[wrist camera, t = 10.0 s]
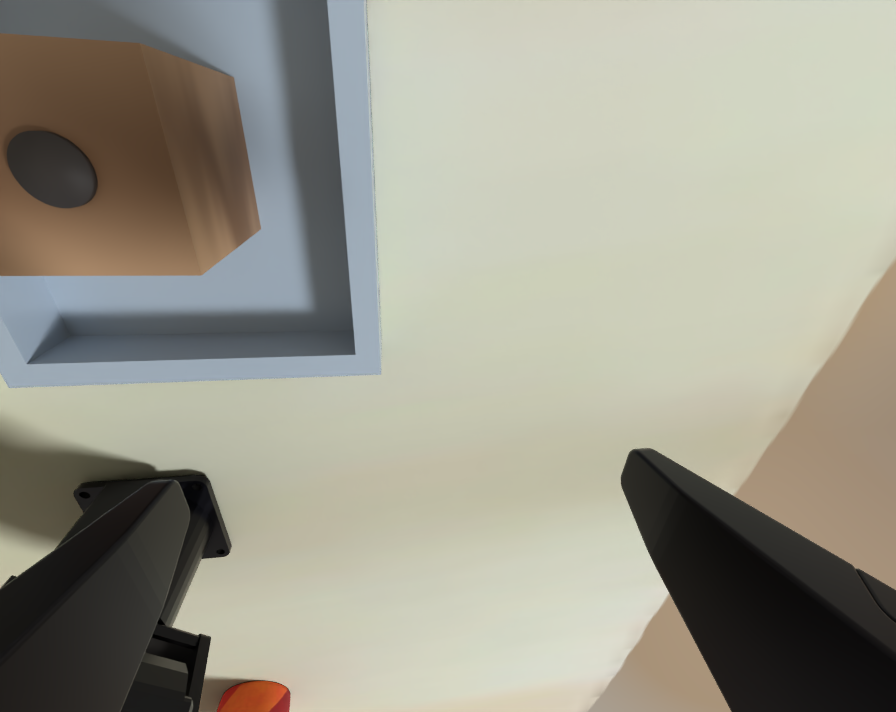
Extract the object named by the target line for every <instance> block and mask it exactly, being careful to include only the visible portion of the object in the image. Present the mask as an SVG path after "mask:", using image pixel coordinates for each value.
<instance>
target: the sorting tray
mask: <svg viewBox="0 0 896 712" xmlns="http://www.w3.org/2000/svg"><path fill="white" fill-rule="evenodd" d="M0 33H5V34H19V35H33V36H47V37H62V38H76V39H90V40H104V41H118V42H132V43H141V44H144V45H147V46H149V47H152V48H155V49H158V50H160V51H163V52H166V53H168V54H171V55H174V56H177V57H179V58H182V59H185V60H188V61H190V62H193V63H196V64H199V65H201V66H204V67H207V68H209V69H212V70H215V71H218V72H220V73H223V74H226V75H229V76H231V77H234V81H235V86H236V92H237V97H238V103H239V108H240V114H241V120H242V125H243V131H244V136H245V142H246V147H247V153H248V158H249V164H250V170H251V175H252V181H253V186H254V192H255V197H256V203H257V208H258V214H259V220H260V225H261V230H259V231H258V232H257V233H256V234H254V235H253V236H252V237H250V238H249V239H248V240H247V241H245V242H244V243H243V244H241V245H240V246H239V247H238V248H236V249H235V250H234V251H232V252H231V253H230V254H229V255H227V256H226V257H225V258H223V259H222V260H221V261H219V262H218V263H217V264H216V265H214V266H213V267H212V268H210V269H209V270H208V271H207V272H205V273H204V274H203V275H201V276H0V373H1V375H2V377H3V379H4V380H5V382H6V384H7V385H8V387H9V388H21V387H49V386H76V385H104V384H132V383H160V382H188V381H216V380H243V379H271V378H299V377H327V376H355V375H381V350H382V340H381V317H380V294H379V272H378V249H377V226H376V203H375V181H374V158H373V135H372V112H371V89H370V67H369V44H368V21H367V0H0Z"/></svg>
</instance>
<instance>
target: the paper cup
mask: <svg viewBox="0 0 896 712" xmlns="http://www.w3.org/2000/svg"><path fill="white" fill-rule="evenodd" d="M289 707H290V691H289V690H288V688H287V687H285V686H283V685H281V684H279V683H275V682H270V681H251V682H245V683H241V684H238V685H235V686H233V687H231V688H229V689H228V690H227V691H226V692H225V693H224V694H223V696H222V699H221V701H220V704H219V706H218V709H217V712H289Z"/></svg>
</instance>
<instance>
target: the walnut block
mask: <svg viewBox="0 0 896 712" xmlns="http://www.w3.org/2000/svg"><path fill="white" fill-rule="evenodd" d="M259 230H261V225H260V220H259V214H258V208H257V203H256V197H255V192H254V186H253V181H252V175H251V170H250V164H249V158H248V153H247V147H246V142H245V136H244V131H243V125H242V120H241V114H240V108H239V103H238V97H237V92H236V86H235V81H234V77H231V76H229V75H226V74H223V73H220V72H218V71H215V70H212V69H209V68H207V67H204V66H201V65H199V64H196V63H193V62H190V61H188V60H185V59H182V58H179V57H177V56H174V55H171V54H168V53H166V52H163V51H160V50H158V49H155V48H152V47H149V46H147V45H144V44H141V43H132V42H118V41H104V40H90V39H76V38H62V37H47V36H33V35H19V34H5V33H0V276H201V275H203V274H204V273H205V272H207V271H208V270H209V269H210V268H212V267H213V266H214V265H216V264H217V263H218V262H219V261H221V260H222V259H223V258H225V257H226V256H227V255H229V254H230V253H231V252H232V251H234V250H235V249H236V248H238V247H239V246H240V245H241V244H243V243H244V242H245V241H247V240H248V239H249V238H250V237H252V236H253V235H254V234H256V233H257V232H258V231H259Z"/></svg>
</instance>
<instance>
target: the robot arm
mask: <svg viewBox="0 0 896 712" xmlns="http://www.w3.org/2000/svg"><path fill="white" fill-rule="evenodd" d="M198 484H199V485H198ZM621 486H622V489H623V492H624V494H625V496H626V499H627V501H628V504H629V506H630V509H631V511H632V514H633V516H634V518H635V521H636V523H637V526H638V528H639V531H640V533H641V536H642V538H643V541H644V543H645V545H646V548H647V550H648V552H649V554H650V556H651V559H652V561H653V563H654V565H655V567H656V569H657V570H658V572H659V574H660V576H661V578H662V580H663V582H664V584H665V586H666V588H667V590H668V591H669V593H670V595H671V597H672V599H673V601H674V603H675V605H676V607H677V609H678V610H679V612H680V614H681V616H682V618H683V620H684V622H685V624H686V626H687V628H688V630H689V631H690V633H691V635H692V637H693V639H694V641H695V643H696V644H697V647H698V649H699V651H700V652H701V654H702V656H703V658H704V660H705V662H706V664H707V666H708V668H709V670H710V671H711V673H712V675H713V677H714V679H715V681H716V683H717V685H718V687H719V689H720V691H721V693H722V694H723V696H724V698H725V700H726V702H727V704H728V706H729V708H730V710H731V711H732V712H896V590H894V589H893V588H891V587H889V586H888V585H886V584H884V583H882V582H881V581H879V580H877V579H875V578H874V577H872V576H870V575H869V574H867V573H865V572H864V571H862V570H860V569H855V568H854V566H853V565H851V564H850V563H848V562H846V561H845V560H843V559H841V558H839V557H838V556H836V555H834V554H832V553H831V552H829V551H827V550H826V549H824V548H822V547H820V546H819V545H817V544H815V543H814V542H812V541H810V540H808V539H807V538H805V537H803V536H802V535H800V534H798V533H796V532H795V531H793V530H791V529H789V528H788V527H786V526H784V525H783V524H781V523H779V522H777V521H776V520H774V519H772V518H771V517H769V516H767V515H765V514H764V513H762V512H760V511H758V510H757V509H755V508H753V507H752V506H750V505H748V504H746V503H745V502H743V501H741V500H739V499H738V498H736V497H734V496H733V495H731V494H729V493H728V492H726V491H724V490H722V489H721V488H719V487H717V486H715V485H714V484H712V483H710V482H709V481H707V480H705V479H703V478H702V477H700V476H698V475H697V474H695V473H693V472H691V471H690V470H688V469H686V468H684V467H683V466H681V465H679V464H678V463H676V462H674V461H672V460H671V459H669V458H667V457H666V456H664V455H662V454H660V453H659V452H657V451H655V450H653V449H651V448H642V449H633V450H631V451H630V452H629V455H628V457H627V460H626V463H625V466H624V469H623V472H622V475H621ZM73 494H74V497H75V498H76V500H77V502H78V504H79V505H80V507H81V509H82V510H83V512H84V513H83V514H82V516H81V517H80V518H79V520H78V521H77V522H76V523H75V525H74V526H73V527H72V528H71V530H70V531H69V532H68V533H67V535H66V536H65V537H64V538H63V540H62V541H61V542H60V543H59V545H58V546H57V547H56V548H55V550H54V551H52V552H51V553H50V554H48V555H47V556H45V557H44V558H43V559H41V560H40V561H38V562H37V563H36V564H34V565H33V566H31V567H30V568H29V569H27V570H26V571H25V572H23V573H22V574H20V575H19V576H18V577H16V576H13V575H12V576H11V577H10V578H9V579H8V580H7V581H6V582H5V583H4V584H3V585H2V587H1V588H0V712H198V709H199V704H200V698H201V692H202V687H203V681H204V675H205V670H206V664H207V658H208V652H209V647H210V641H211V637H210V636H206V635H203V634H199V635H195V634H192V633H189V632H185V631H182V630H179V629H176V628H172V626H173V623H174V621H175V619H176V616H177V614H178V612H179V610H180V607H181V605H182V603H183V600H184V598H185V596H186V593H187V591H188V589H189V586H190V584H191V582H192V579H193V577H194V575H195V572H196V570H197V568H198V566H199V563H200V561H201V559H205V558H216V557H224V556H227V555H228V554H229V553H230V550H231V547H232V545H231V542H230V539H229V536H228V533H227V530H226V527H225V524H224V521H223V518H222V516H221V513H220V510H219V507H218V504H217V501H216V498H215V495H214V492H213V489H212V486H211V483H210V481H209V479H208V478H207V477H205V476H202V475H193V476H178V477H163V478H147V479H132V480H117V481H102V482H87V483H82V484H80V485H79V486H78V487H77V489H76V490H75V491H74V493H73Z"/></svg>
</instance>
